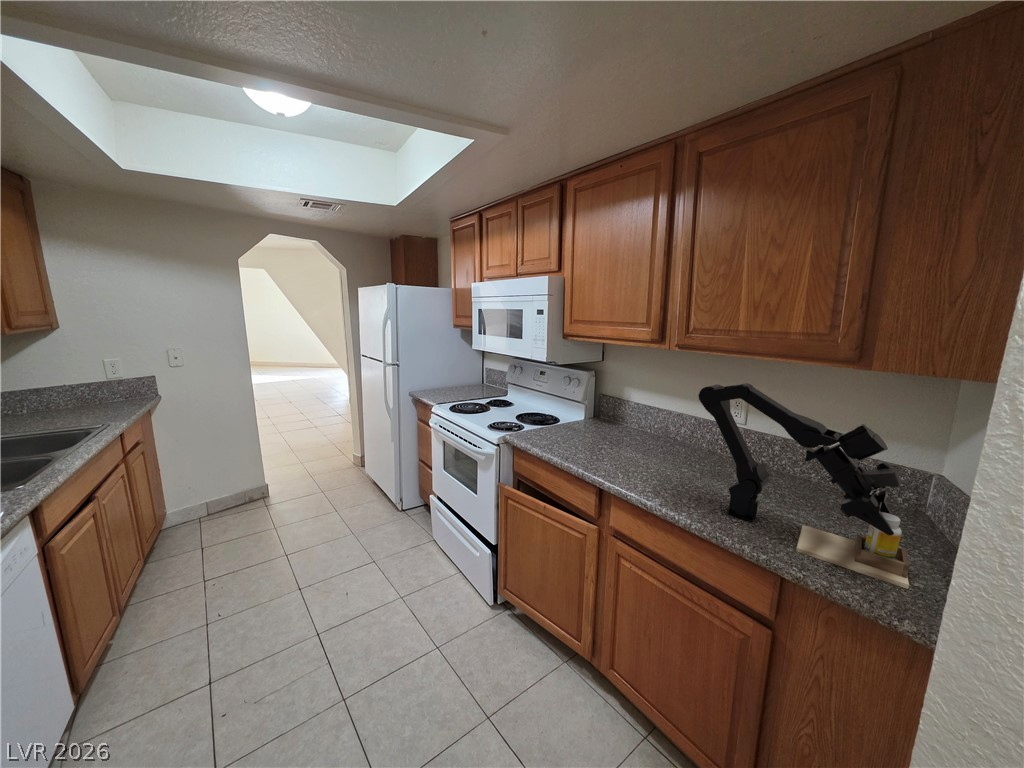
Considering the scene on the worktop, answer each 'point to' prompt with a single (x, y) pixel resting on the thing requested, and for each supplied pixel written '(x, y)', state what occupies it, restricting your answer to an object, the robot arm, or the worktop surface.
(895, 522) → the supplement bottle
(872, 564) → the socket board
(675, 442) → the worktop surface
